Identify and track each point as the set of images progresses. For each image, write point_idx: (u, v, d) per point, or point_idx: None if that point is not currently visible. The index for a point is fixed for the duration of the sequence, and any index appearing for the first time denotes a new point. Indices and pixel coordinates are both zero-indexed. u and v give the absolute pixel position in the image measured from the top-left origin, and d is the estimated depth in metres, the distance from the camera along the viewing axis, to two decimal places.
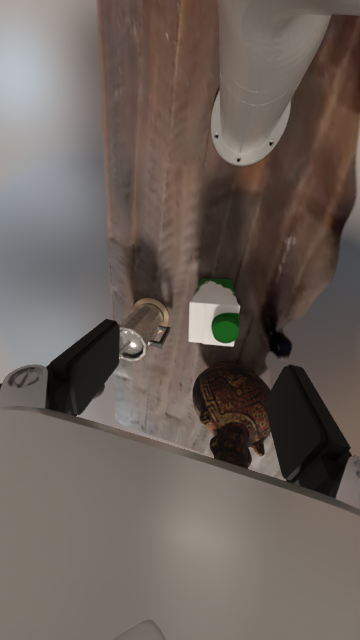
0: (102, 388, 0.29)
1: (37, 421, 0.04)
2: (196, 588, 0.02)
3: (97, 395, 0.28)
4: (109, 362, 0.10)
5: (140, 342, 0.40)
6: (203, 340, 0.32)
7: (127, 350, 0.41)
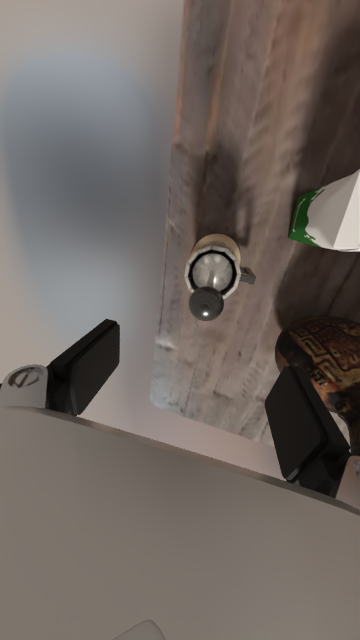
0: (223, 304, 0.18)
1: (37, 421, 0.04)
2: (196, 588, 0.02)
3: (219, 313, 0.17)
4: (109, 362, 0.10)
5: (230, 272, 0.29)
6: None
7: None
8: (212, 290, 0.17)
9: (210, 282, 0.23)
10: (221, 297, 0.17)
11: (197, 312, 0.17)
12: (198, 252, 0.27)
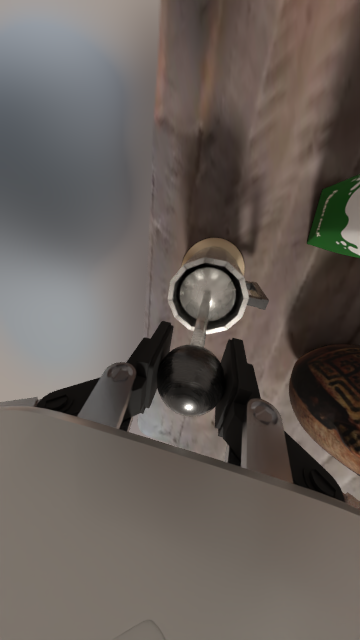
0: None
1: (37, 421, 0.04)
2: (196, 588, 0.02)
3: (215, 405, 0.08)
4: None
5: (232, 294, 0.20)
6: None
7: None
8: (201, 361, 0.08)
9: (202, 317, 0.15)
10: (220, 374, 0.08)
11: (170, 405, 0.08)
12: (186, 266, 0.19)
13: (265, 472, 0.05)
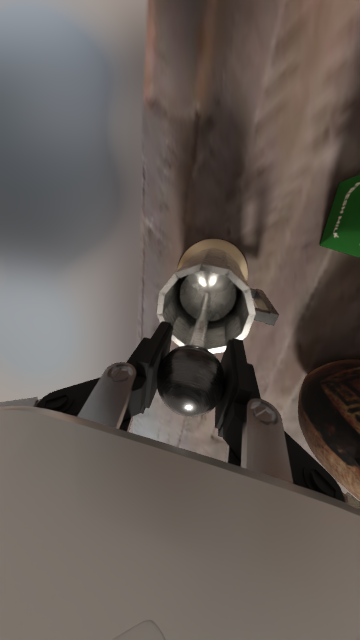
0: None
1: (37, 421, 0.04)
2: (196, 588, 0.02)
3: (215, 405, 0.08)
4: None
5: (232, 294, 0.20)
6: None
7: None
8: (201, 362, 0.08)
9: (202, 317, 0.15)
10: (220, 374, 0.08)
11: (170, 406, 0.08)
12: (178, 275, 0.15)
13: (265, 472, 0.05)
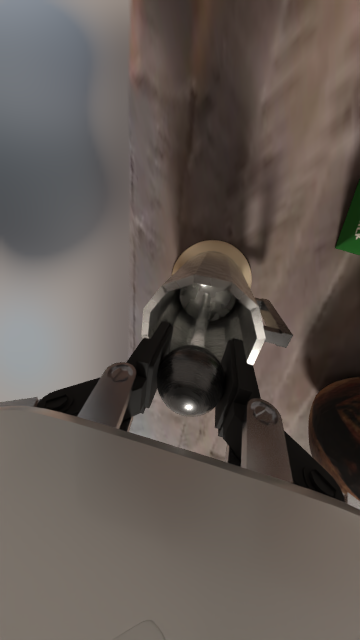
0: None
1: (37, 421, 0.04)
2: (196, 588, 0.02)
3: (215, 405, 0.08)
4: None
5: (232, 294, 0.20)
6: None
7: None
8: (201, 361, 0.08)
9: (202, 317, 0.15)
10: (220, 374, 0.08)
11: (170, 406, 0.08)
12: (166, 288, 0.12)
13: (265, 472, 0.05)
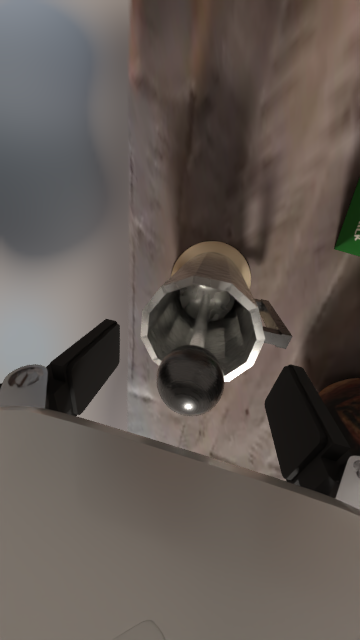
0: None
1: (37, 421, 0.04)
2: (196, 588, 0.02)
3: (214, 404, 0.08)
4: (109, 362, 0.10)
5: None
6: None
7: None
8: (201, 361, 0.08)
9: (202, 318, 0.15)
10: (219, 374, 0.08)
11: (169, 405, 0.08)
12: (166, 289, 0.12)
13: None
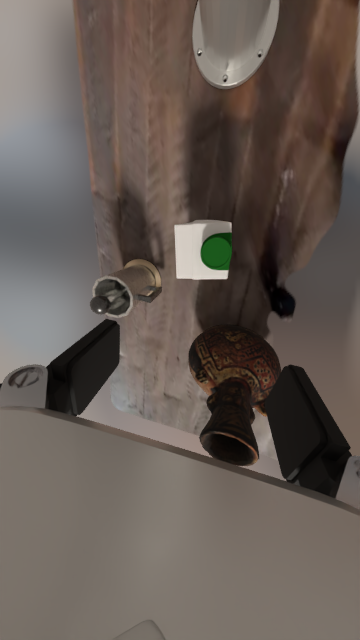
0: (109, 304, 0.32)
1: (37, 421, 0.04)
2: (196, 588, 0.02)
3: (104, 309, 0.32)
4: (109, 362, 0.10)
5: None
6: (193, 274, 0.28)
7: None
8: (99, 297, 0.31)
9: (118, 292, 0.38)
10: (105, 301, 0.31)
11: (92, 309, 0.31)
12: (98, 280, 0.35)
13: None
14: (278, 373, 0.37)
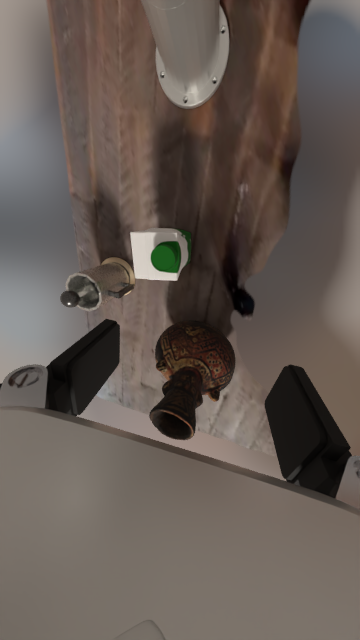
0: (77, 298, 0.36)
1: (37, 421, 0.04)
2: (196, 588, 0.02)
3: (73, 303, 0.36)
4: (109, 362, 0.10)
5: None
6: (148, 275, 0.32)
7: None
8: (69, 292, 0.35)
9: (90, 287, 0.42)
10: (74, 295, 0.35)
11: (62, 302, 0.35)
12: (70, 277, 0.39)
13: None
14: (230, 365, 0.42)
